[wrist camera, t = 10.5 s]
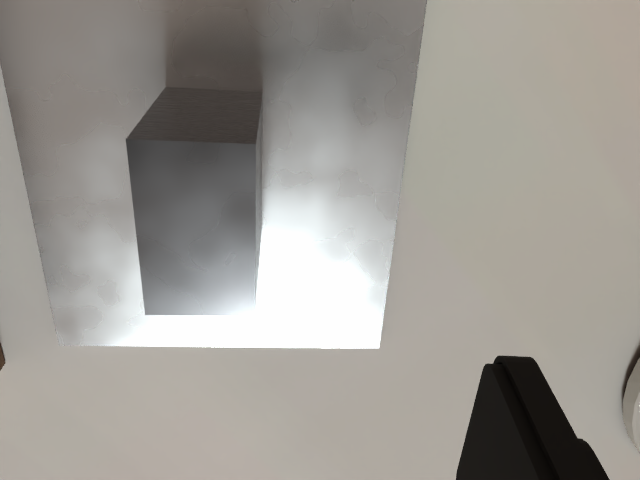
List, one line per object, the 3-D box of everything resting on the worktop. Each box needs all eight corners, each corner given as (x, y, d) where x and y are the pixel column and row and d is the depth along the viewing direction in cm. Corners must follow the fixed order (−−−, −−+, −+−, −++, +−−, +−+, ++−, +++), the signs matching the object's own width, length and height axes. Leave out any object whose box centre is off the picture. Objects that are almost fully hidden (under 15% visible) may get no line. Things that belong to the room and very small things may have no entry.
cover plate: (431, -89, 16) (500, -99, 11) (375, 333, 24) (401, 446, 18) (-20, -121, 15) (-177, -148, 10) (67, 329, 23) (2, 449, 18)
